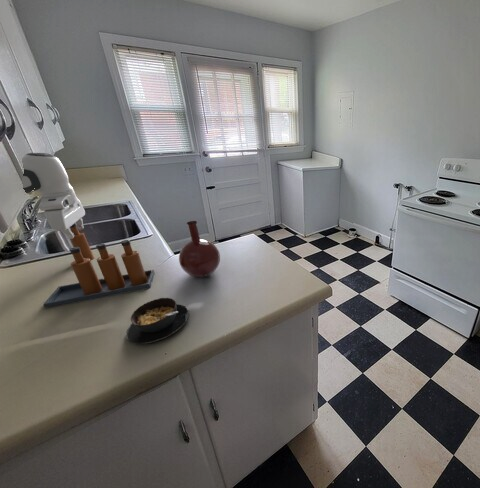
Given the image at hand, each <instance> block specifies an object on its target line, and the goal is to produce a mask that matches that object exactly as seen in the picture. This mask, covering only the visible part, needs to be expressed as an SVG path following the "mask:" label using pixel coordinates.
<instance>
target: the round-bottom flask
mask: <svg viewBox="0 0 480 488" xmlns="http://www.w3.org/2000/svg"><path fill="white" fill-rule="evenodd" d="M186 225H187V227H188V232H189V235H190V239H191V241H188V242H187V243H186V244H184V245H183V247H182V248H181V249H180V251H179V255H178V263H179V266H180V268H181V269H182V270H183V272H184V273H186V274H187V275H189V276H191V277H195V278H202V277H207V276H210V275H211V274H213V273H214V272H215V271H216V270H217V268H218V267H219V265H220V262H221V254H220V251H219V249H218V247H217V246H216V245H215V244H214V243H213V242H211V241H209V240H207V239H201V238H200V233H199V229H198V222H197V220H191V221H188V222H186Z"/></svg>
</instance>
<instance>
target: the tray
mask: <svg viewBox="0 0 480 488" xmlns="http://www.w3.org/2000/svg"><path fill="white" fill-rule="evenodd" d="M144 271H145V274H146V277H147V280H148V281H147V282H146V283H145V284H141V285H136V286H133V285H132V284H131V281H130V278H129V276H128V273H126V274H122V276H123V279H124V282H125V286H124V287H123V288H121V289H115V290H109V288H108V286H107V284H106V281H105V279H104V278H98V279H99V282H100V284H101V286H102V290H101V291H100V292H98V293H95V294H89V295H85V294H84V292H83V290H82V287H81V285H80V283H79V282H77V283H71V284H64V285H60V286H59V285H58V287H56V289H55V290H54V291H53V292H52V294H50V296H49V297H48V298H47V299H46V300H45V301H44V302H43V303H42V305H43V306H44V308H45V309H51V308H56V307H59V306H66V305H70V304H71V305H72V304H74V303H80V302H86V301H90V300H91V301H92V300H95V299H100V298H101V299H102V298H105V297H110V296H116V295H120V294H125V293H131V292H137V291H140V290H146V289H150V288H151V287H152V283H153V281H154V279H155V278H154V277H155V274H156V273H155V272H156V271H155V270H154V269H149V270H144Z"/></svg>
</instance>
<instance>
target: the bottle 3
mask: <svg viewBox="0 0 480 488" xmlns="http://www.w3.org/2000/svg"><path fill="white" fill-rule="evenodd" d="M120 244H121V246H122V248H123V251H124V252H123V253H122V254H121V256H120V257H121V259H122V262H123V265H124V267H125V270H126V274H128V276H129V278H130V281H131V284H132V285H133V286H136V285H141V284H145V283H146V282H147V281H148V280H147V277H146V274H145V271H146V270H145V268H144V265H143V263H142V259H141V256H140V254H139V251H137V250H133V248H132V246H131V241H130V239H124V240H122V241H121V242H120Z"/></svg>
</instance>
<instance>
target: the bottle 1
mask: <svg viewBox="0 0 480 488" xmlns="http://www.w3.org/2000/svg"><path fill="white" fill-rule="evenodd" d="M69 252H70V254H71V255H72V258H73V259H74V261H72V262H71V263H70V266H71V269H72V270H73V272H74V275H75V277H76V279H77V281H78V283H80V285H81V287H82V290H83V292H84V294H85V295H89V294H95V293H98V292H100V291H101V290H102V286H101V284H100V282H99V279H100V278H99V277H98V274H97V273H96V270H95V267H94V265H93V263H92V260H90V259H89V258H83V256H82V254H81V250H80V248H79V247H71V248H69Z"/></svg>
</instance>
